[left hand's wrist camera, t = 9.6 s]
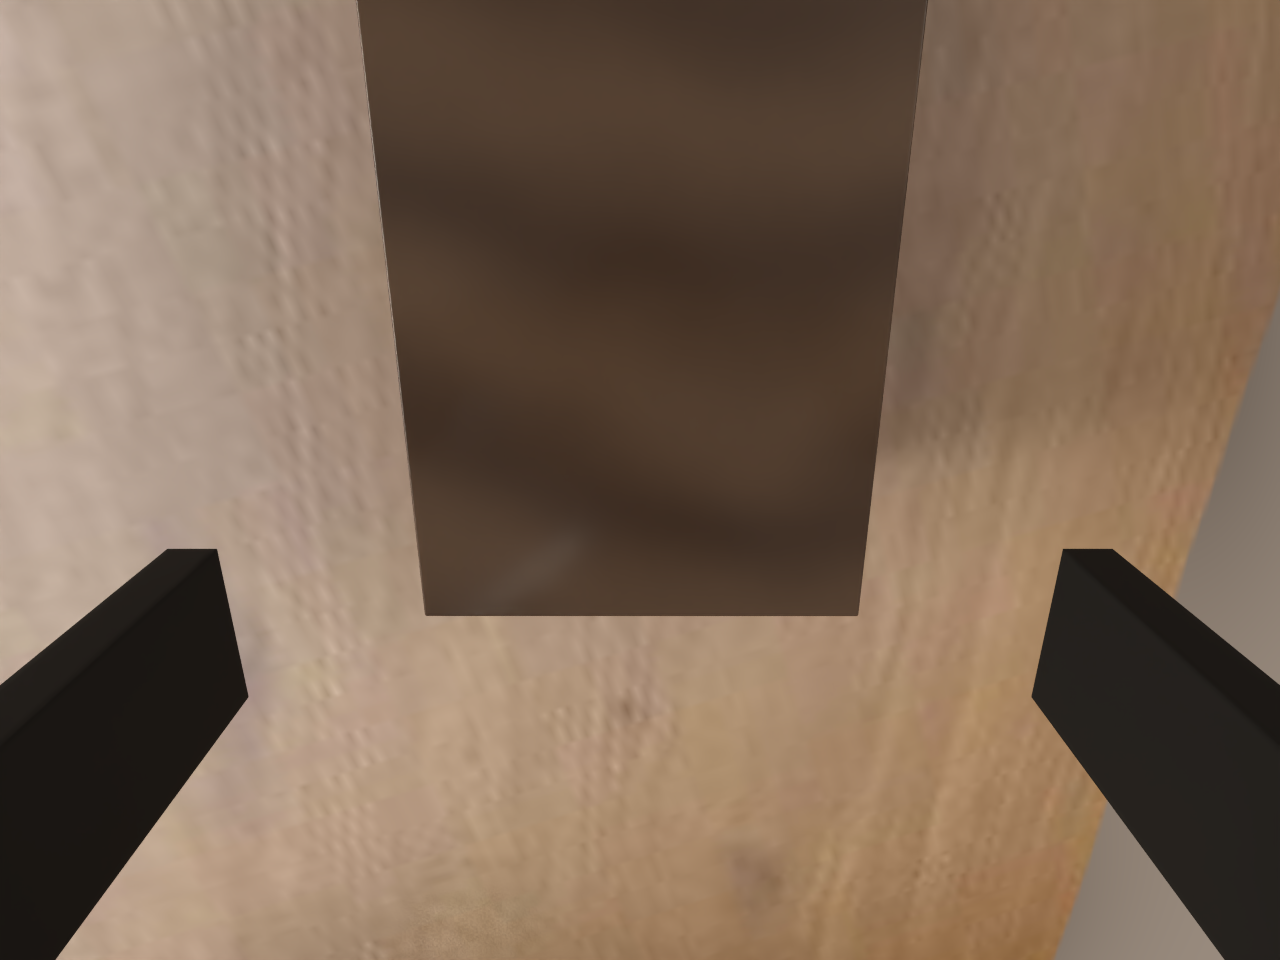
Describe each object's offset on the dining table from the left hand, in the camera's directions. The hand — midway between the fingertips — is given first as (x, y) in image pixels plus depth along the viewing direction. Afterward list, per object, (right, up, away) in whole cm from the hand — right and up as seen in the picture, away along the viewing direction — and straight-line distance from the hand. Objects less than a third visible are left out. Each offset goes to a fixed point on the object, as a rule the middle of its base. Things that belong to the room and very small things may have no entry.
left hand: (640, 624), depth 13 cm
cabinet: (0, +11, +12) cm, 16 cm away
